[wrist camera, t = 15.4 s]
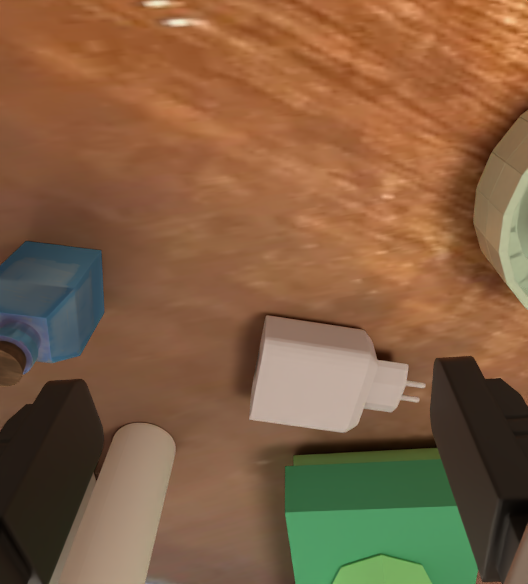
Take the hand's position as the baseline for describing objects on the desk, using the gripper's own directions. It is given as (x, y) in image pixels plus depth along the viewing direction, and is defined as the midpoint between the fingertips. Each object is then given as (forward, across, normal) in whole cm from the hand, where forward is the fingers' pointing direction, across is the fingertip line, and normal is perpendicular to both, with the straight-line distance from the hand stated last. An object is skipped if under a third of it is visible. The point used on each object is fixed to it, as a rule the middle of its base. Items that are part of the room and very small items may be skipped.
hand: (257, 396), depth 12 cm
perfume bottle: (+28, +19, +11) cm, 36 cm away
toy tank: (+28, -7, +49) cm, 57 cm away
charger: (+28, -4, +22) cm, 36 cm away
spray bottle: (+28, +17, +31) cm, 46 cm away
